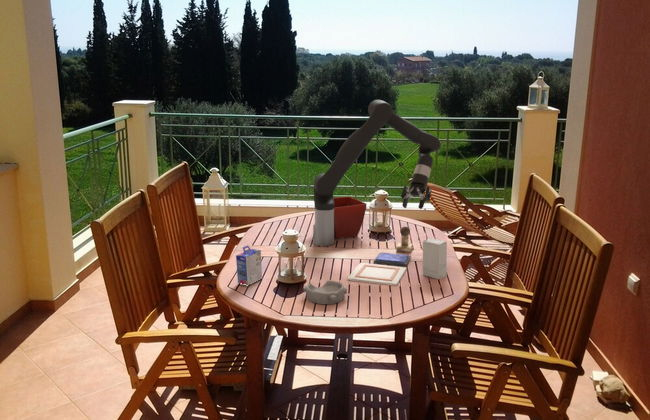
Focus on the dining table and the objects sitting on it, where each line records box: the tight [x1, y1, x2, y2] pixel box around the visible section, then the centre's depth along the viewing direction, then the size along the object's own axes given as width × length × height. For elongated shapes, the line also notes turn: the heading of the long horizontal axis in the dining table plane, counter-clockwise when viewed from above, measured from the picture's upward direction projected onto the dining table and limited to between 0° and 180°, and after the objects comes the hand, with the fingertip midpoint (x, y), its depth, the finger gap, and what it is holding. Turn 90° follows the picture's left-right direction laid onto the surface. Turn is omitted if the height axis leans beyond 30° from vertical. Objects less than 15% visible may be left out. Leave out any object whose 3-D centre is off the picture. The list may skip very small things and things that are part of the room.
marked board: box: [346, 262, 407, 286], centre depth 257 cm, size 20×20×1 cm
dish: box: [303, 280, 348, 305], centre depth 232 cm, size 14×14×5 cm
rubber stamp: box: [395, 226, 414, 254], centre depth 288 cm, size 6×6×11 cm
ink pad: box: [373, 252, 412, 268], centre depth 274 cm, size 14×11×2 cm
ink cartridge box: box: [235, 245, 263, 285], centre depth 248 cm, size 10×6×14 cm, turn 149°
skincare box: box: [422, 237, 448, 280], centre depth 255 cm, size 8×6×15 cm
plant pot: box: [333, 196, 367, 240], centre depth 312 cm, size 19×19×17 cm
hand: (412, 207), depth 291 cm, fingers open, 8 cm apart
